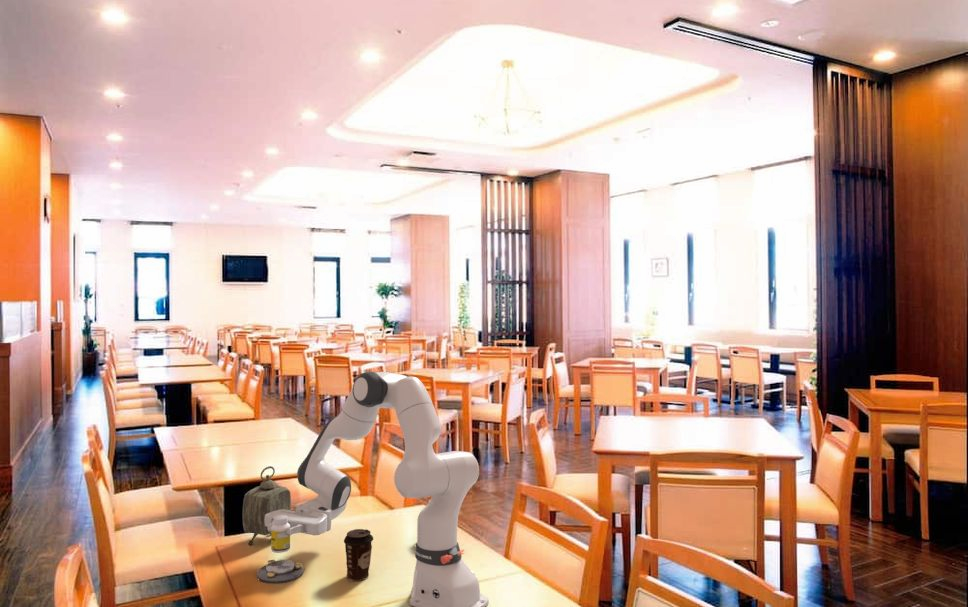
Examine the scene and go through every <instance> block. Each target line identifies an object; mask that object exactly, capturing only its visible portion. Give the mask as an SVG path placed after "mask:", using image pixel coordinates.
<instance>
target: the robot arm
mask: <svg viewBox="0 0 968 607" xmlns="http://www.w3.org/2000/svg"><path fill="white" fill-rule="evenodd" d="M380 409H386V410H391V409H394V411H395V414H396V417H397V420H398V424H399V427H400V430H401V433H402V437H403V442H404V453H403V456H402V459H401V461H400V463H399V464H398V465H397V467H396V469H395V471H394V476H393V477H394V478H393V480H394V485H395V488H396V490H397V492H398V493H399V494H400V496H402V497H403V498H406V499H424V498H429V497H431V498H430V500H429V501H430V502H429V501H428V503H427V504H426V505H425V506H424V507H423V508H422V509H421V511H420V512H419V514H418V516H417V529H416V530H417V531H416V532H417V534H416V535H417V536H416V543H415V549H414V554H415V555H414V556H415V559H416V562H415V568H414V572H413V581H412V588H411V590H410V598H409V605H410V606H412V607H485V606H486V605H487V606H488V604H489V598H488V597H487V596H486V595H484V594H482V593H481V589H480V581H479V578H478V577H477V576H476V574H475V572H474V571H473V570H472V571H471V568H469V566H468V565H467V564H466V563H465V562H464V560H463V559H462V555H464V554H465V549H461V548H460V546H459V542H458V522H459V515H460V514H459V513H460V511H461V507H462V504H463V502H464V499H465V497H466V495H467V494H468V492H469V490H470V489H471V488H472V487H473V485H475V484H476V482H477V481H478V478H479V475H480V466H479V463H478V460H477V458H476V457H475V455H474V454H473V453H472V452H469V451H462V450H461V451H460V450H453V451H452V450H451V451H445V452H440V453H439V452H438V453H435V450H434V446H433V444H434V443H435V442H436V441H437V440H438V439H439V437H440V436H441V434H442V425H441V422H440V419H439V417H438V414H437V411H436V408H435V406H434V403H433V401H432V399H431V396H430V394H429V392H428V390H427V389H426V386H425V384H424V383H423V382H422V381H421V380H420V379H419V378H418V377H416V376H412V375H409V374H405V373H403V374H401V373H396V372H390V371H367V372H366V371H365V372H362V373H359V374H358V375H357V376H356V378H355V379H354V381H353V385H352V388H351V390H350V392H349V393H348V395H347V397H346V400H345V402H344V404H343V407H342V409H341V411H340V413H339V414H338V415H337V416H333V417H331V418H330V419H329V420H328V421H327V422H326V424H325V425H324V426H323V428H322V429H321V431H320V433H319V434H318V436H317V438H316V440H315V441H314V443H313V445H312V447H311V449H310V450H309V452H308V454H307V456H305V458H304V459H303V461H301V464H300V465H299V466H298V468H297V473H296V475H297V482H298V484H299V485H301V486H302V487H304V488H306V489H309V490H311V492H314V493H315V494H317V496H316V497H315V498H312V499H310V500H307V501H304V502H303V503H300V504H298V505H297V506H296V507H295V509H294V510H286V509H280V510H276V511H273V512H270V513H267V514H266V515H265V519H264V522H265V526H267V527H268V531H271V527H272V525H273V524H275V523H274V517H275V516H278V515H286V516H288V522H287V523H289V524H290V527H289V528H287V529H286V534H288V535H290V536H291V535H294V534H304V535H311V536H320V535H322V534H325V533H326V532H330V531H331V530H332V521H333V520H335V519H336V518H338V517H339V516H340V515H341V514H343V512H344V511H345V510H346V507H347V505H348V500H349V498H350V496H351V492H352V482H351V478H350V476H348V475H347V474H345V473H344V472H343V471H341V470H339V469H338V468H335V467H334V466H332V465H331V464H329V463H328V462H327V461H326V459H325V456H326V454H327V453H328V451H329V449H330V447H331V446H332V444H333V442H334V441H335V440H338V439H339V440H346V441H357V440H361V439H363V438H366V437H367V436H369V434H370V433H371V431H372V429H373V427H374V425H375V423H376V421H377V417H378V414H379V410H380ZM487 606H486V607H487Z"/></svg>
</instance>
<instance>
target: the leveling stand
mask: <svg viewBox="0 0 968 607" xmlns="http://www.w3.org/2000/svg"><path fill="white" fill-rule="evenodd" d="M303 574H304V566H303V564H302V562H295V561H293V560H289V559H287V560H286V559H280V560H275V559H269V560H267V564H265V565H263V566H261V567H260V568H259V569H258V570H257V572H256V577H257V580H258V579H259V580H258V581H260V582H262V583H265V582H266V583H265V584H283V583H284V582H285V583H288V582H292V581H294V580H297V579H299V578H300V577H301V576H303ZM285 583H284V584H285Z"/></svg>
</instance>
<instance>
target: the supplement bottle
mask: <svg viewBox="0 0 968 607" xmlns="http://www.w3.org/2000/svg"><path fill="white" fill-rule="evenodd" d="M287 522H288V516H286V515H278V516H275V517H274V523H275V524H273V525H272V527H271V535H270V539H271V541H270V546H271V547H270V548H271V549H270V550H271V552H273V553H277V554H282V553H285V552H288V551H290V549H291V535H288V534H286V529H287V528H289V527H290V524H289V523H287Z"/></svg>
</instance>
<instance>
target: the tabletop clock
mask: <svg viewBox="0 0 968 607" xmlns="http://www.w3.org/2000/svg"><path fill="white" fill-rule="evenodd" d="M269 469H272V473H271V475H269V474H267V475H266V477H263V474H264V472H265V471H266V470H269ZM275 472H276V471H275V467H274V466H266V467H264V468H263V469H262V471H261V473H260V479H261V480H262V481H261V482H260V484H259V486H255V487H254V488H252V489H250V490H249V491H247V492H246V493H245V494H244V498H243V502H242V516H241V517H242V526H243V531H244V533H249V534H253V536H252V538H251V539H249V540H248V542H247V544H248V546H252V545H253V544H254V540H255V538H256V537H257V536H258V535H262V536H268V535H270V536H271V531H268V527H267V526H265V522H264V519H265V515H266V514H267V513H270V512H273V511H276V510H280V509H286V510H291V509H292V502H291V497H292V496H291V492H290V490H289V488H288V487H286V486H281V485H276V483H275V481H273V480H271V478H273V477H274V475H275ZM269 541H270V542H271V538H270V539H269Z"/></svg>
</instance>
